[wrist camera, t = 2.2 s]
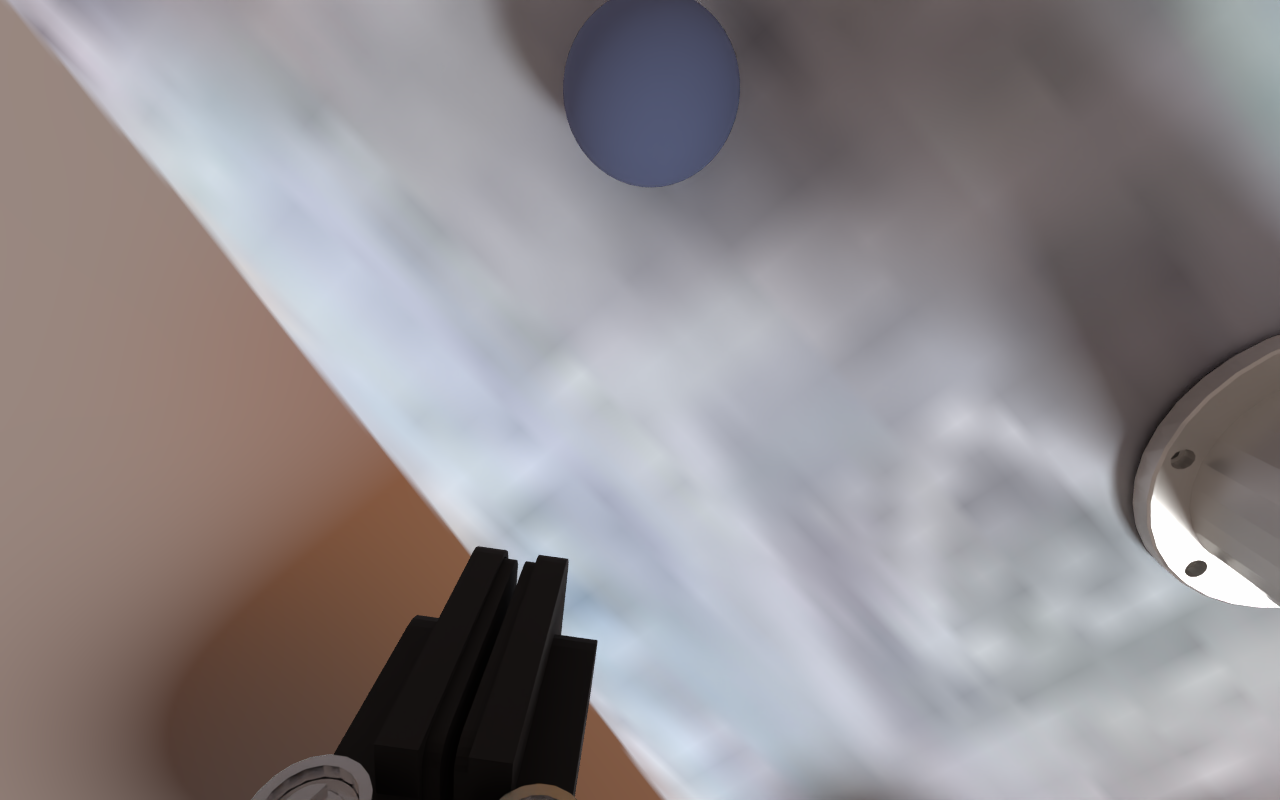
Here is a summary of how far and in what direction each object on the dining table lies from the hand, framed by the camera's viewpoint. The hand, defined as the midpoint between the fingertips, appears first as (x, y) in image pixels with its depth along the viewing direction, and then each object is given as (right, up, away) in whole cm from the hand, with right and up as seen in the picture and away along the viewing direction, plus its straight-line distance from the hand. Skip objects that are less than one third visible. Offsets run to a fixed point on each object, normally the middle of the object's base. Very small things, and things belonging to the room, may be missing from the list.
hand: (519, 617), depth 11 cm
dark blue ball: (+3, +14, +8) cm, 16 cm away
